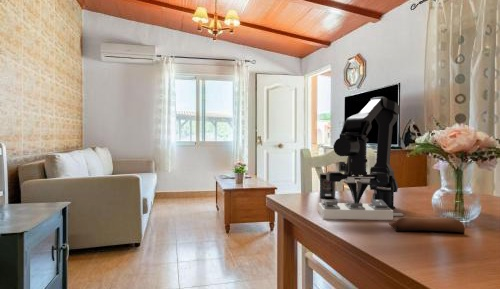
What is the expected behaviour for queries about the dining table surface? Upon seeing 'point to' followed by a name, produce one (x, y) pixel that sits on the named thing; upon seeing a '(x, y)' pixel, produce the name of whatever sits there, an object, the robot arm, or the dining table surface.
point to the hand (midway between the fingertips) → (356, 203)
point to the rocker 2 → (379, 203)
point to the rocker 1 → (330, 203)
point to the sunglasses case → (428, 224)
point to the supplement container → (326, 187)
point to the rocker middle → (354, 203)
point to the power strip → (355, 212)
